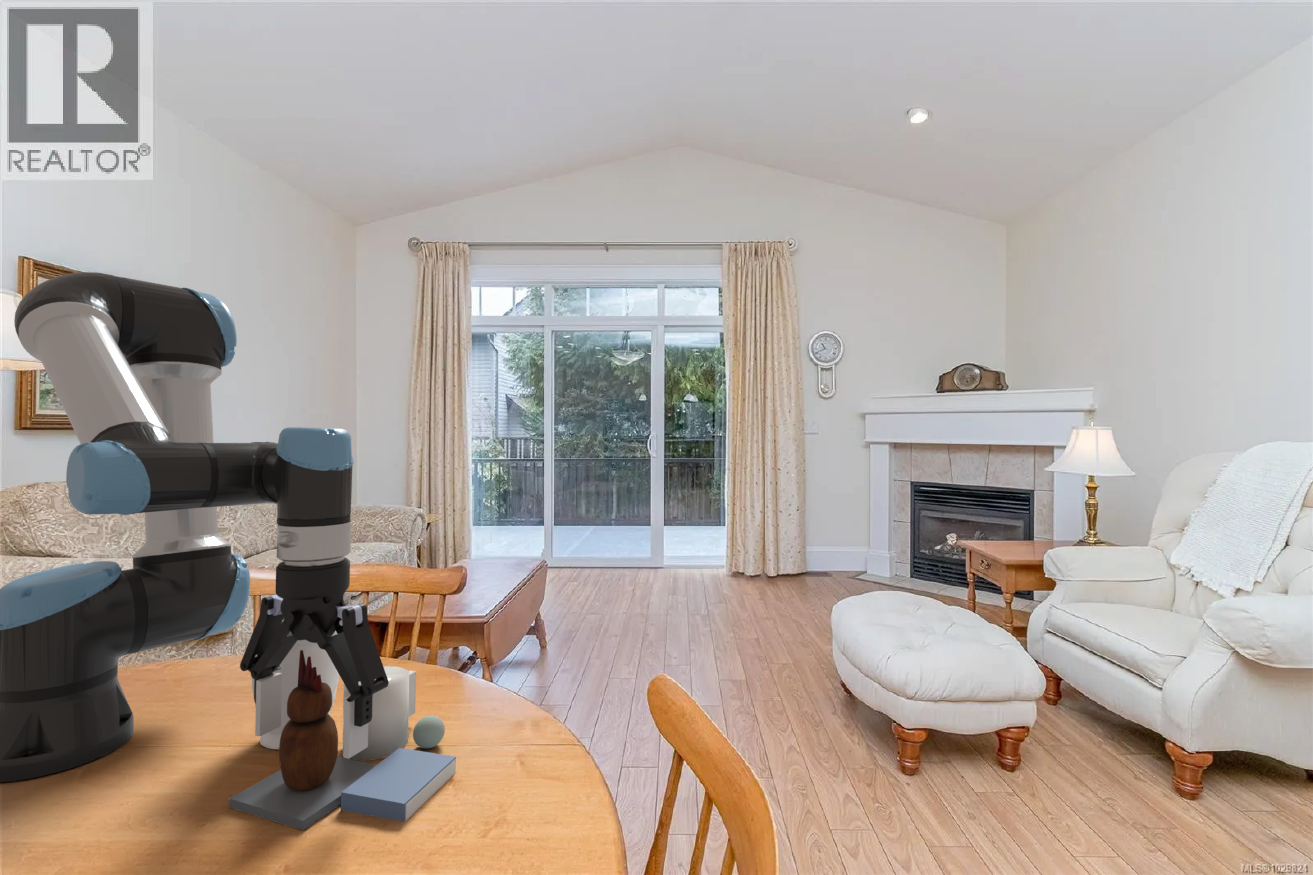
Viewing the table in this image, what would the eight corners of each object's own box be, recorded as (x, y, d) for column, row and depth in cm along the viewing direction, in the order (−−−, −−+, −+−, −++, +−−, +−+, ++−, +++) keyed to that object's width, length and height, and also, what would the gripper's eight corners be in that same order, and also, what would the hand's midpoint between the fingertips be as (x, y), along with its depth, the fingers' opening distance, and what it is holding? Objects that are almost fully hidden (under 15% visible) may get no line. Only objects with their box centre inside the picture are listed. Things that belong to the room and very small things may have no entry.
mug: (328, 753, 78) (329, 684, 78) (389, 718, 88) (390, 656, 88) (376, 765, 75) (377, 694, 75) (434, 727, 85) (435, 664, 85)
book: (340, 814, 66) (341, 792, 66) (398, 766, 76) (399, 747, 76) (404, 826, 64) (405, 803, 64) (456, 776, 74) (456, 756, 74)
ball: (405, 751, 79) (406, 720, 79) (426, 737, 82) (427, 708, 82) (430, 757, 77) (431, 726, 77) (450, 742, 81) (451, 712, 81)
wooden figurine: (274, 778, 70) (277, 650, 70) (329, 762, 74) (331, 640, 74) (284, 805, 65) (287, 667, 65) (342, 786, 69) (345, 656, 69)
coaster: (228, 807, 66) (229, 798, 66) (315, 758, 77) (315, 750, 77) (302, 830, 62) (303, 820, 63) (383, 775, 73) (383, 767, 73)
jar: (298, 760, 76) (300, 642, 76) (230, 750, 78) (232, 635, 78) (355, 721, 86) (357, 618, 87) (294, 714, 89) (296, 613, 89)
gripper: (206, 556, 70) (203, 737, 70) (372, 575, 62) (369, 780, 62) (266, 546, 77) (263, 710, 77) (423, 562, 69) (420, 745, 69)
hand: (310, 741), depth 70 cm, fingers open, 13 cm apart
